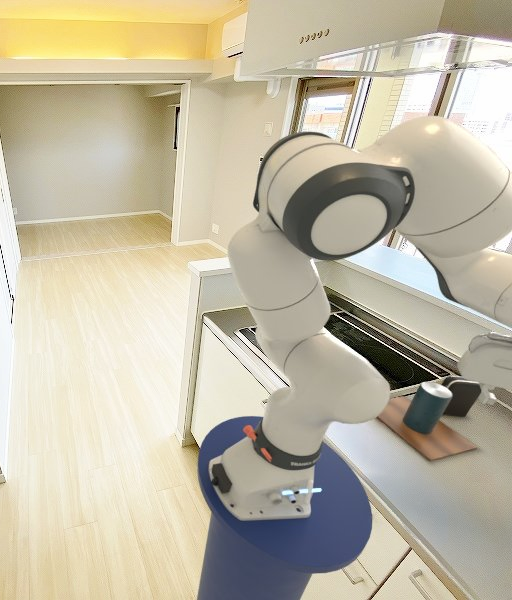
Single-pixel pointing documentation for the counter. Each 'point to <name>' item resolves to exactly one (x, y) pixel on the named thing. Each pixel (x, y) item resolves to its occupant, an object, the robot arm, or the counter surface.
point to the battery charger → (461, 395)
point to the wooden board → (428, 445)
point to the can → (427, 407)
